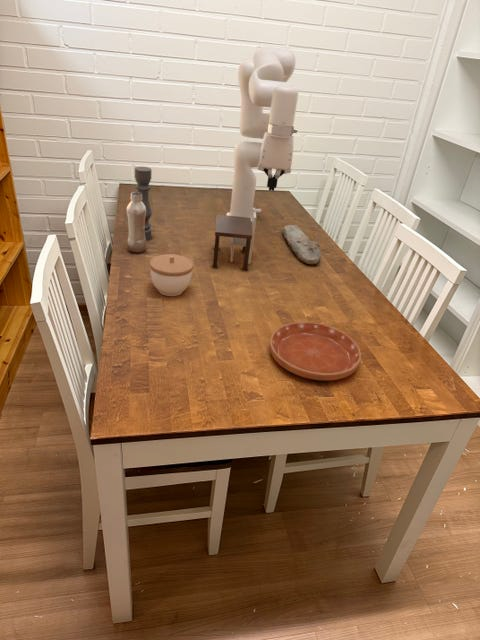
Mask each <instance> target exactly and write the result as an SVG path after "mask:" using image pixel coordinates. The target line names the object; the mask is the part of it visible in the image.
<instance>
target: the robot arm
mask: <svg viewBox="0 0 480 640" xmlns="http://www.w3.org/2000/svg"><path fill="white" fill-rule="evenodd" d="M252 57H253V58H252V59H246V60H243V61H241V62H240V64H239V65H238V68H237V79H238V80H237V82H238V87H239V92H240V97H241V98H240V99H241V100H240V113H239V133H240V135H241V136H242V137H244V138H247V139H248V138H249V139H257V140H258V139H259V140H262V141H261V142H260V141H259V142H258V141H248V140H247V141H245V140H244V141H239V142H237V143H236V144H235V145H234V148H233V179H232V189H231V197H230V208H229V211H228V212H227V213H226V214H225V215H228V216H238V217H247V218H251V224H252V220H253V212H256V214H261V213H262V209H261V208H256V207H254V202H255V196H256V186H257V175H256V174H255V172H254V170H253V169H252V168H257V170H258V171H260V172H264V174H265V175H266V176H267V182H266V187H267V188H268V191H269V192H271V191H272V192H274V191H275V189H277V186H278V181H279V180H278V179H279V178H281V177H282V176H283V175H288V174H291V173H292V164H293V155H294V142H295V139H294V135H293V134H297V133H298V128H297V127H294V124H295V118H296V112H297V105H298V98H299V89H298V88H297V87H296V85H295V84H294V83H292V82H289V79H290V78H291V77H292V76H293V74H294V72H295V69H296V57H295V53H294V51H292V50H291V49H288V48H282V47H274V46H261V47H259V48H258V49H257V50H256V51H255V52H254V54H253V55H252ZM264 108H270V112H264V110H263V109H264ZM274 169H275V171H274V174H273V170H274Z"/></svg>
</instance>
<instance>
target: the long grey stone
mask: <svg viewBox="0 0 480 640" xmlns="http://www.w3.org/2000/svg"><path fill="white" fill-rule="evenodd" d="M282 234H283V238H284V239H285V240H286V241H287V245H288V246H289V247H290V249H291V251H292V252H293V253H294V254H295V256H296V257H297V259H298V260H300V262H303V263H304V264H307V265H317V264H319V262H320V261H321V258H322V252H321V250H320V248H319V247H320V246H321V245H320V243H319V242H317V241H312V240H310V239H309V237H308V236H307V235H306V233H305V232H304V231H303V230H302V229H301V228H300V226H297V225H295V224H285V226H283V229H282Z"/></svg>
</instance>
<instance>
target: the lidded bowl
mask: <svg viewBox="0 0 480 640" xmlns="http://www.w3.org/2000/svg"><path fill="white" fill-rule="evenodd" d="M193 270H194V262H193V261H192V259H190V258H188V257H186V256H184V255H180V254H175V253H166V254H164V253H163V254H159V255H156V256H153V257H152V258H151V259H150V260H149V273H150V274H149V275H150V281H151V283H152V285H153V286H154V288H155V289H156V290H157V291H158V292H159V293H160V294H161V295H163V296H166V297H176V296H179V295H181V294H183V292H184V291H185V290H187V289H188V288H189V286H190V284H191V281H192V279H193Z"/></svg>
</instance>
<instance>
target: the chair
mask: <svg viewBox="0 0 480 640" xmlns="http://www.w3.org/2000/svg"><path fill="white" fill-rule="evenodd" d="M256 225H257V213H256V212H253V220H252V223H251V227H252V239H251V243H250V251H249V259H248V265H251V263H252V257H253V255H252V254H253V247H254V240H255V233H256V232H255V231H256ZM235 246H236V247H237V246H238V247H243V246H246V239H244V238H234V237H231V247H230V261H229V262H230V263H233V261H234V253H235Z"/></svg>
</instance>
